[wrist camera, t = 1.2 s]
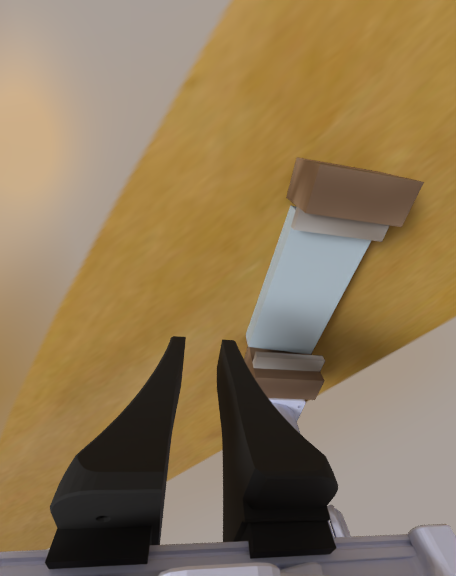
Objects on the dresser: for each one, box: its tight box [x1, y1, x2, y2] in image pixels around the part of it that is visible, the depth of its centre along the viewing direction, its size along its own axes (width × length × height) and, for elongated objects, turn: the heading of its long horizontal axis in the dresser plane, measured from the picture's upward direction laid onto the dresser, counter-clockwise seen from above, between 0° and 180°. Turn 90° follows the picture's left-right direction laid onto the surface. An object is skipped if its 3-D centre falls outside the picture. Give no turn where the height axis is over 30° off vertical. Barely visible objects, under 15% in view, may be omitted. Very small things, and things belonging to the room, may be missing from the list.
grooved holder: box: [244, 158, 424, 400], centre depth 20 cm, size 18×6×4 cm, turn 171°
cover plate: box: [246, 206, 371, 354], centre depth 21 cm, size 12×6×2 cm, turn 167°
